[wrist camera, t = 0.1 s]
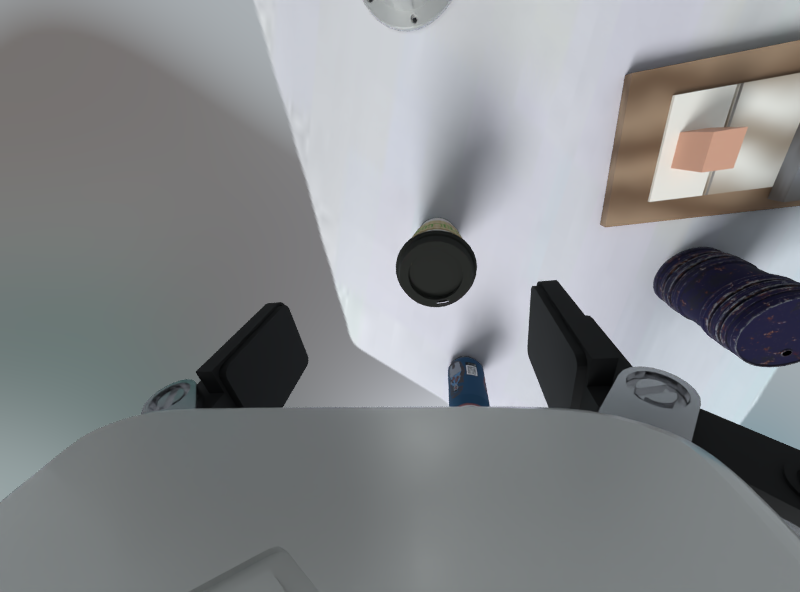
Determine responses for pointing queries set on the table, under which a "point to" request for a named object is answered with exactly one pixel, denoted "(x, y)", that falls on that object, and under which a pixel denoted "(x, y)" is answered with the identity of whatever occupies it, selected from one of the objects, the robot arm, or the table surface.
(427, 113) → the table surface
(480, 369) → the soda can
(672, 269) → the storage jar
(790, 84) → the board
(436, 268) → the coffee cup
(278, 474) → the robot arm
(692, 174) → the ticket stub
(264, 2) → the table surface
